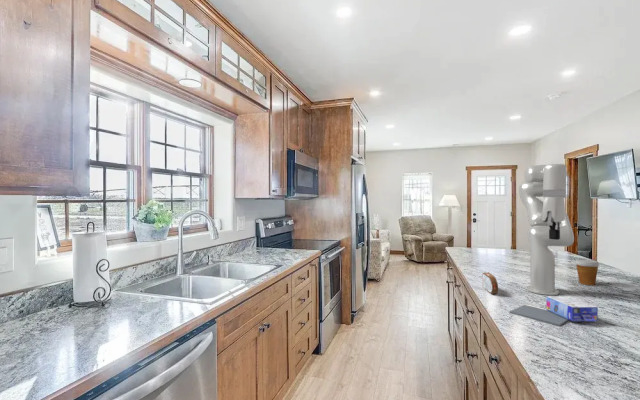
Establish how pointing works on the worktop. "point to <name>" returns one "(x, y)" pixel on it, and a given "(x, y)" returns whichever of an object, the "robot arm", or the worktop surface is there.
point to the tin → (490, 283)
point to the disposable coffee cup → (587, 271)
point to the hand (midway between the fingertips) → (554, 239)
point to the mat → (539, 314)
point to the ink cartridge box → (572, 308)
